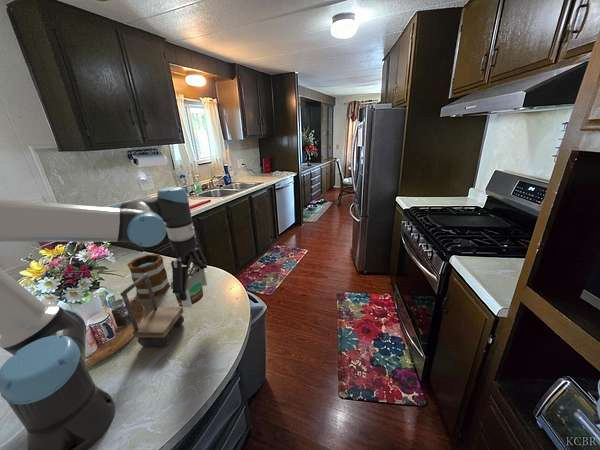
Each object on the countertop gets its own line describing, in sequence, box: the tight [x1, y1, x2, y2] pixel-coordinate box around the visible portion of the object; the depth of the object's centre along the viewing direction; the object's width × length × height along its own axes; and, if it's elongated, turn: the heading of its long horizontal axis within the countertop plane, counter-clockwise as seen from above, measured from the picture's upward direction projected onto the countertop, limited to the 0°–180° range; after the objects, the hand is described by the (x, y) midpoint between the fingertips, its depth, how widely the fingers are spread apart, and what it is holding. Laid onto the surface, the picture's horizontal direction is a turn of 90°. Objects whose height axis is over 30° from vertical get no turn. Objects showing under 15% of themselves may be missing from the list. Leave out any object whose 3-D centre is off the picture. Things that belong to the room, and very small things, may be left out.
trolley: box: [119, 273, 185, 349], centre depth 81 cm, size 12×10×22 cm
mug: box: [127, 252, 171, 300], centre depth 110 cm, size 20×14×15 cm
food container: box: [170, 263, 204, 308], centre depth 82 cm, size 12×6×10 cm, turn 169°
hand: (196, 295), depth 83 cm, fingers closed on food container, 11 cm apart
